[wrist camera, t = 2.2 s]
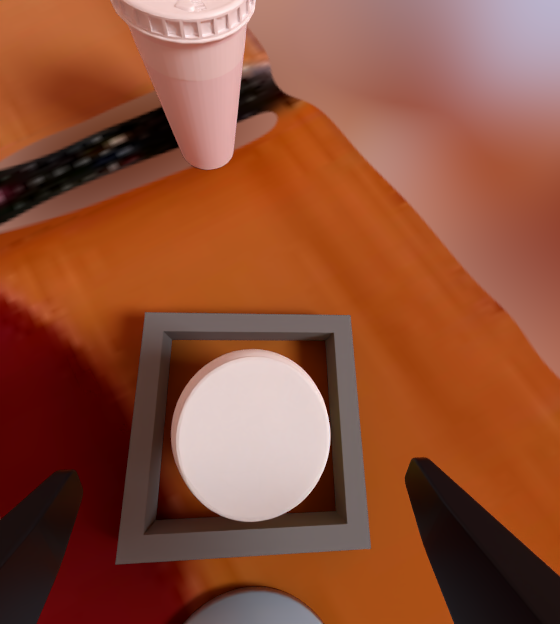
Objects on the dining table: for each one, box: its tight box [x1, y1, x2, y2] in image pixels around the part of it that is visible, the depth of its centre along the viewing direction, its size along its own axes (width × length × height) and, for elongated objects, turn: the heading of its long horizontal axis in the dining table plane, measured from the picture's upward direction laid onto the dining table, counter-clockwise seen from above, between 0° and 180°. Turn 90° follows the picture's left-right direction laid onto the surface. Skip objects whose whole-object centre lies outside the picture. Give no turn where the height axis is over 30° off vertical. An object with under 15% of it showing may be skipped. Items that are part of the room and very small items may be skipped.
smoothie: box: [110, 0, 256, 170], centre depth 16 cm, size 6×6×14 cm
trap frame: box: [115, 312, 371, 565], centre depth 16 cm, size 11×11×2 cm
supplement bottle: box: [171, 349, 330, 522], centre depth 13 cm, size 5×5×10 cm
